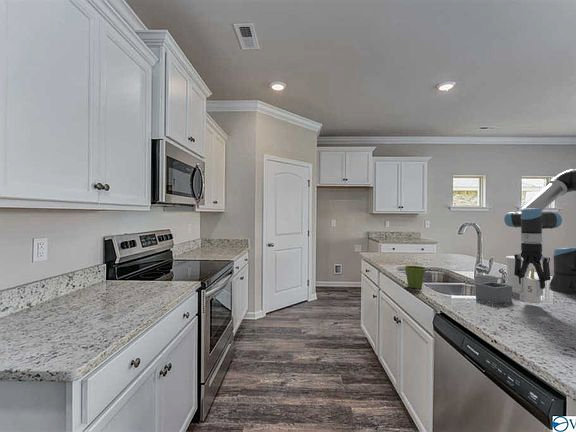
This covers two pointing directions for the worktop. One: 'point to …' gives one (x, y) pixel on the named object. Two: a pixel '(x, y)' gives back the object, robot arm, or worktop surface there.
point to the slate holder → (494, 292)
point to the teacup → (487, 279)
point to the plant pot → (415, 276)
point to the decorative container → (513, 279)
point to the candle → (530, 289)
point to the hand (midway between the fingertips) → (531, 293)
